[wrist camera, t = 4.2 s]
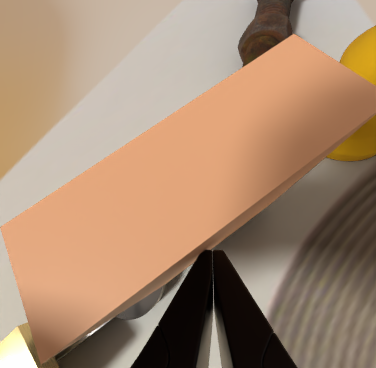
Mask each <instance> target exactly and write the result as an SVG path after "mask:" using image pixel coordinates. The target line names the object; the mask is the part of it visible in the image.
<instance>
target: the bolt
mask: <svg viewBox="0 0 376 368" xmlns="http://www.w3.org/2000/svg"><path fill="white" fill-rule="evenodd" d="M257 1H258V7H257V11H256V15H255V19H254V20H253V21H252V22H251V23H250V25H249V26H248V27H247V29H246V30H245V32H244V33H243V35H242V37H241V38H240V41H239V45H238V50H239V54H240V57H241V59H242V61H243V67H244V66H246V65H247V64H249V63H250V62H252V61H253V60H255V59H256V58H258V57H259V56H261V55H262V54H264V53H265V52H267V51H268V50H270V49H272V48H273V47H275V46H276V45H278V44H279V43H281V42H282V41H284V40H285V39H287V38H288V37H290V36H291V35H293V33H292V28H291V24H290V21H289V13H290V7H291V3H292V2H293V1H294V0H257ZM243 67H242V68H243Z"/></svg>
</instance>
